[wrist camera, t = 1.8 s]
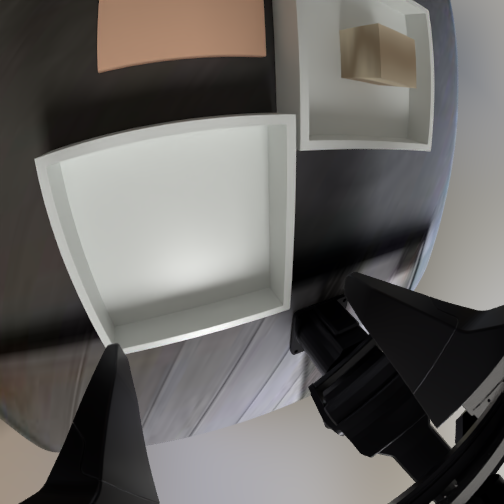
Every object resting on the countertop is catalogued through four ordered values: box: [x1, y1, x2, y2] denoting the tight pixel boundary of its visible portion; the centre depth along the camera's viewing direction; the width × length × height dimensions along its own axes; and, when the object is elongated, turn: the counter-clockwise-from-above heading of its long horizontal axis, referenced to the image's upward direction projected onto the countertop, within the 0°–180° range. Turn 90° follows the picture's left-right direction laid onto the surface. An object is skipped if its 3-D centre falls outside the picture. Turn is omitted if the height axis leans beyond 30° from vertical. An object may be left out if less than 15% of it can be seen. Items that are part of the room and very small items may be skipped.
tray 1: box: [35, 113, 296, 354], centre depth 17 cm, size 14×14×3 cm
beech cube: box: [339, 23, 416, 88], centre depth 14 cm, size 4×4×4 cm
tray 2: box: [272, 0, 434, 151], centre depth 15 cm, size 14×14×3 cm
